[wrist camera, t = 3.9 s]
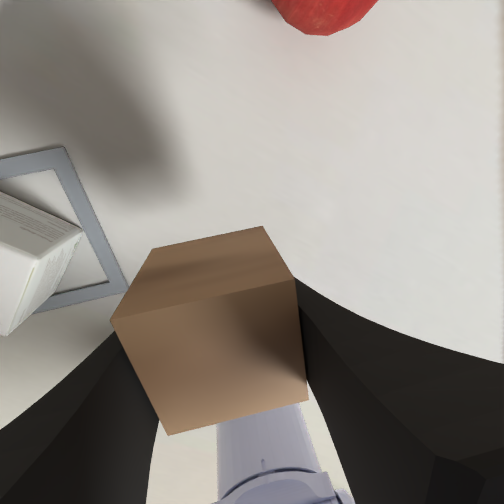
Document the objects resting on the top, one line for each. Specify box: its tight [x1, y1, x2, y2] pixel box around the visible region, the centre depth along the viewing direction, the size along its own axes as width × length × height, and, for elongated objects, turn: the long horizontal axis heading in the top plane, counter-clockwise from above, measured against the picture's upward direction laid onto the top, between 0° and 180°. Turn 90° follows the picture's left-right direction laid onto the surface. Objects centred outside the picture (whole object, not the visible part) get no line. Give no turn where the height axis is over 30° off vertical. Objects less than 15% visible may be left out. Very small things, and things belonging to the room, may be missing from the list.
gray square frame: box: [0, 147, 129, 314], centre depth 16 cm, size 10×10×1 cm
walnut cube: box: [110, 226, 309, 436], centre depth 9 cm, size 4×4×4 cm
